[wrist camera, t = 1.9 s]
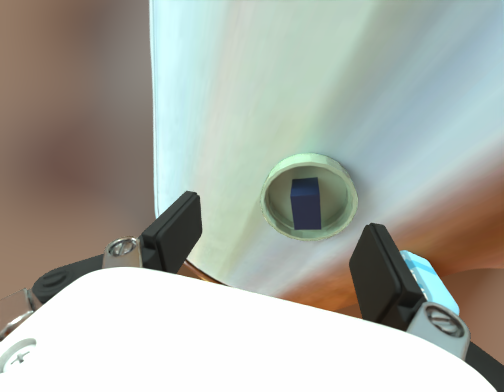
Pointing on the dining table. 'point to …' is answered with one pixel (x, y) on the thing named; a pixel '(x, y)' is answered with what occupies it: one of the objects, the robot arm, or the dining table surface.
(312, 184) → the navy blue block
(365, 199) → the dining table surface
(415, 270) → the data package
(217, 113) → the dining table surface
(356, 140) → the dining table surface
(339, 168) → the bowl
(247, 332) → the robot arm
